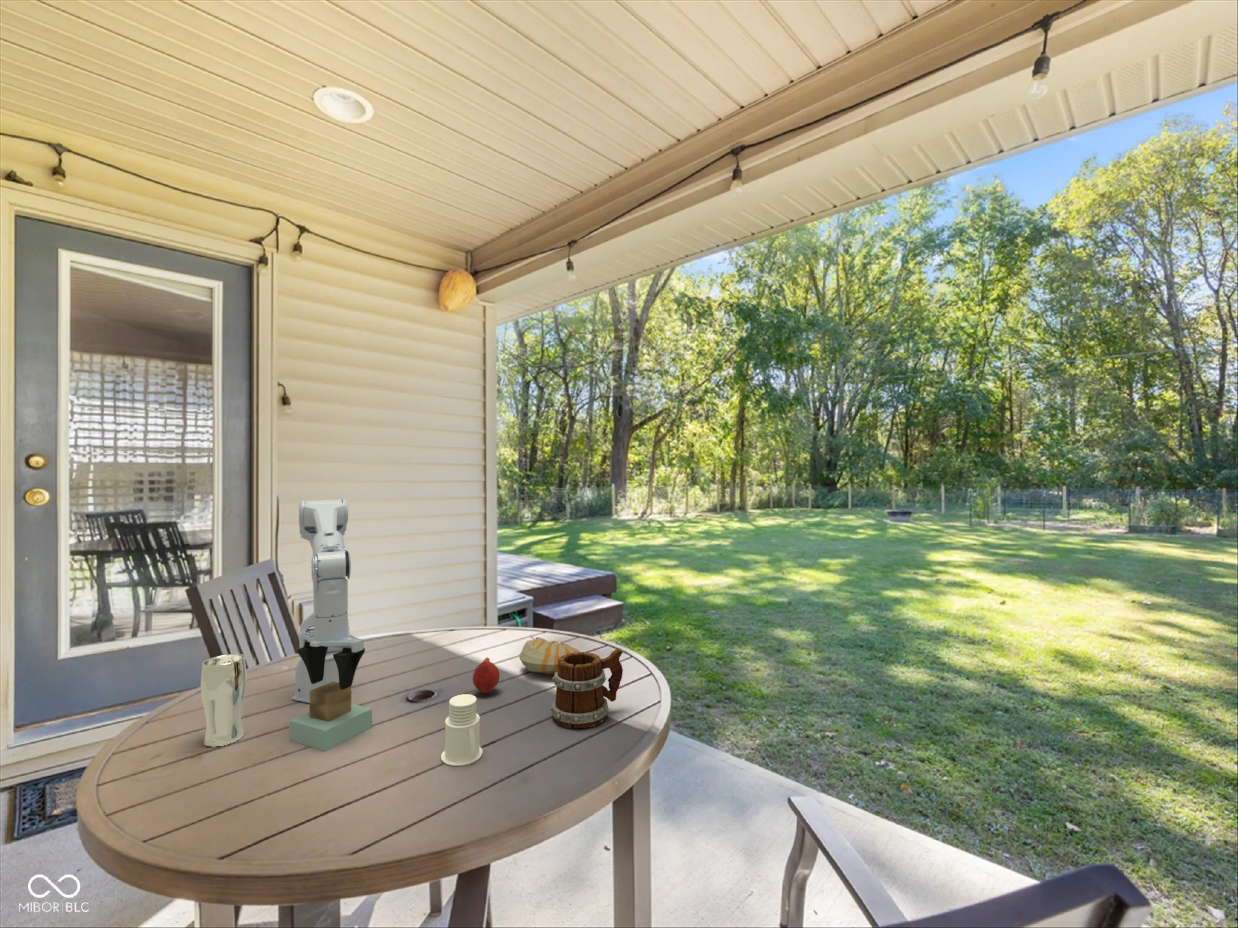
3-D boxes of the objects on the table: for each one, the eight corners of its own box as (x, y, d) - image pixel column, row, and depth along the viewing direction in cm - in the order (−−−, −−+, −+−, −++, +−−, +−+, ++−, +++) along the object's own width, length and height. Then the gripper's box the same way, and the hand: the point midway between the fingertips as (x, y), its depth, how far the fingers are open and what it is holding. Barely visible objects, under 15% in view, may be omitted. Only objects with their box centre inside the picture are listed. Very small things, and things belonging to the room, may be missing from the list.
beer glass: (255, 733, 104) (255, 655, 105) (218, 751, 98) (218, 667, 98) (229, 728, 107) (229, 651, 107) (191, 745, 100) (191, 663, 100)
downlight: (432, 754, 96) (433, 698, 96) (468, 740, 101) (469, 686, 101) (454, 773, 90) (455, 714, 90) (491, 758, 95) (492, 701, 95)
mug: (541, 708, 114) (553, 636, 115) (605, 710, 118) (616, 641, 119) (552, 733, 103) (564, 653, 104) (622, 735, 107) (634, 658, 108)
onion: (492, 699, 119) (492, 663, 119) (468, 697, 120) (468, 661, 120) (503, 689, 125) (503, 654, 125) (480, 687, 126) (480, 652, 126)
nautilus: (508, 661, 145) (562, 656, 151) (526, 685, 125) (588, 678, 131) (509, 630, 146) (563, 627, 151) (527, 649, 126) (588, 644, 132)
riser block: (289, 741, 102) (289, 720, 102) (337, 719, 111) (337, 700, 111) (325, 753, 98) (325, 730, 98) (371, 728, 107) (371, 708, 107)
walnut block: (309, 717, 103) (309, 690, 103) (332, 706, 108) (332, 681, 108) (328, 721, 101) (328, 694, 101) (351, 710, 106) (351, 684, 106)
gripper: (285, 615, 104) (285, 687, 103) (341, 622, 98) (341, 698, 98) (317, 606, 110) (317, 674, 110) (372, 613, 105) (372, 683, 105)
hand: (331, 684), depth 105 cm, fingers open, 7 cm apart
